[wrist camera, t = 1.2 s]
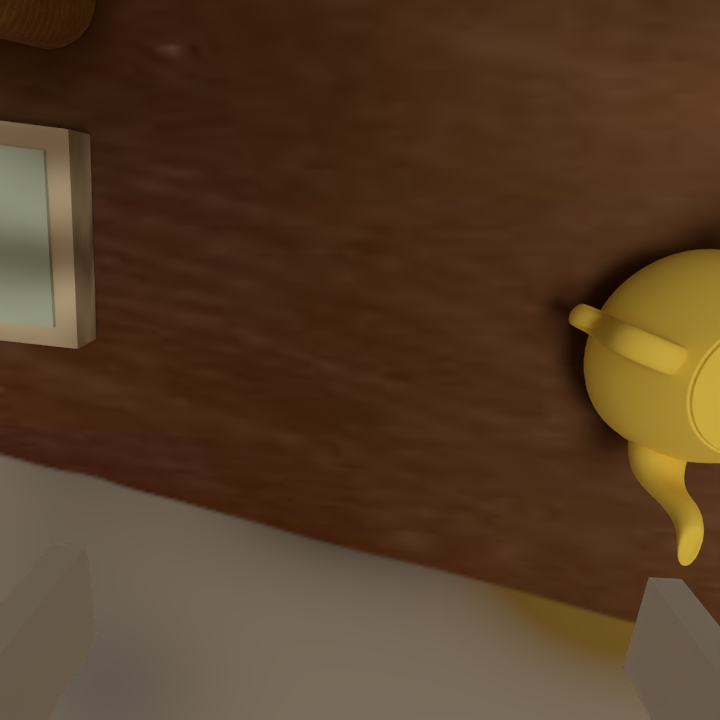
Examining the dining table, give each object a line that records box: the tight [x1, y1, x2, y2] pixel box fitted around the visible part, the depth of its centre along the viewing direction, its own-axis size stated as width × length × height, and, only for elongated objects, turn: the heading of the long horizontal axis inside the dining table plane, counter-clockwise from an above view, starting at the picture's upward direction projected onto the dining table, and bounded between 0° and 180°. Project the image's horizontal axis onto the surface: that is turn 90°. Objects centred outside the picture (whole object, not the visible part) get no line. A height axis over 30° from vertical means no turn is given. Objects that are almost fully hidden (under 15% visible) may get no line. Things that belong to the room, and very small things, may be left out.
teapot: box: [569, 249, 720, 566], centre depth 30 cm, size 20×15×12 cm
